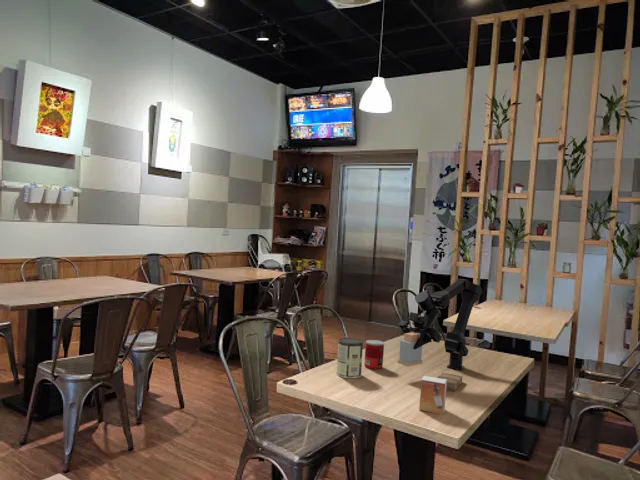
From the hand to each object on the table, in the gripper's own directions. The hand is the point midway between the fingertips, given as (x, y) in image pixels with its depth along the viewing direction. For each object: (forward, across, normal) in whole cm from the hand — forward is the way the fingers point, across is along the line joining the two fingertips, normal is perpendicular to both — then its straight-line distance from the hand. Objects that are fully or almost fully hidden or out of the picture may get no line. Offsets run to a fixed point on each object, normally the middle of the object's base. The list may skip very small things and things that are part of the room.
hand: (408, 347), depth 192 cm
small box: (+22, +26, -4) cm, 35 cm away
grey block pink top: (+4, 0, +6) cm, 7 cm away
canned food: (+9, -19, +10) cm, 23 cm away
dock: (+2, +13, +16) cm, 21 cm away
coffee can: (+21, -16, -3) cm, 27 cm away
